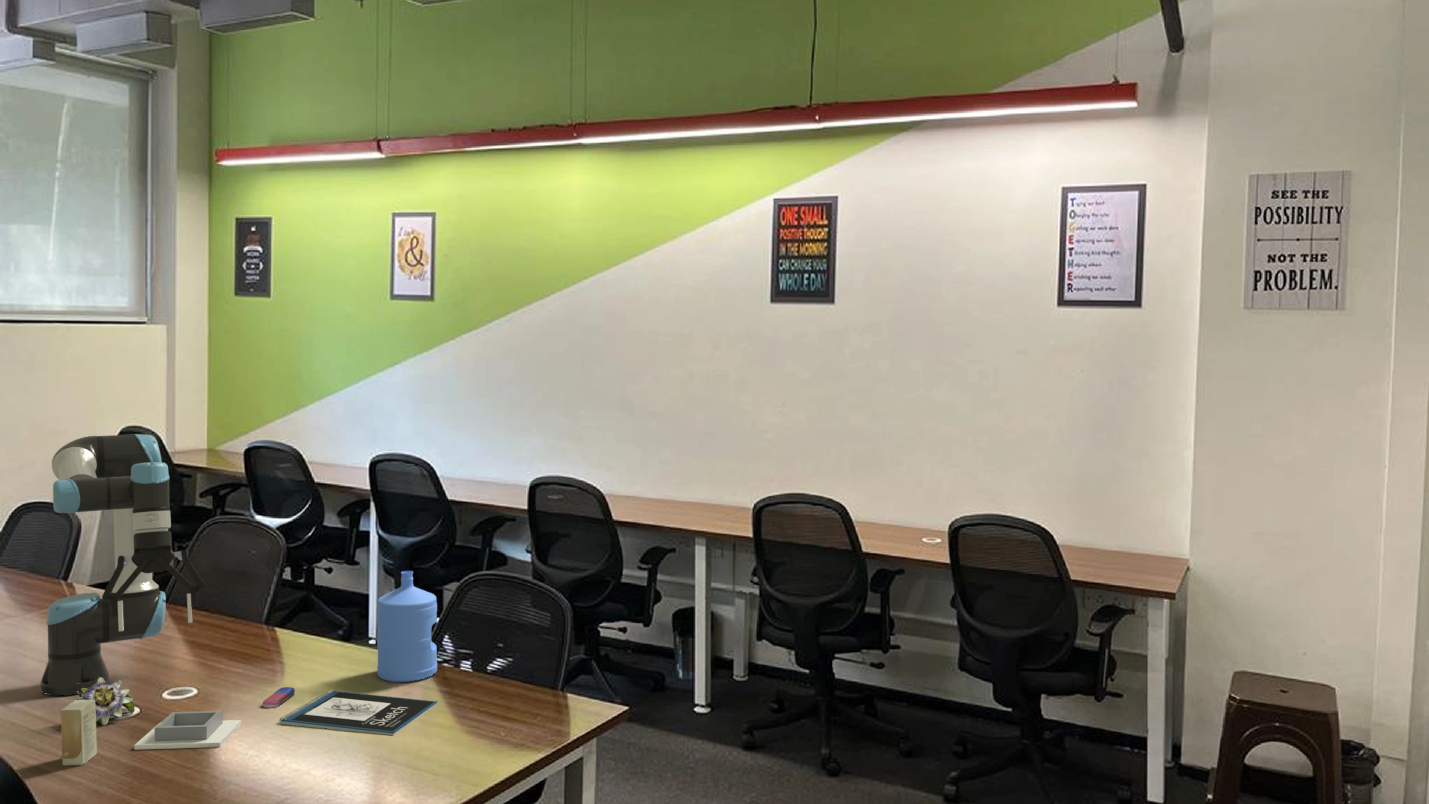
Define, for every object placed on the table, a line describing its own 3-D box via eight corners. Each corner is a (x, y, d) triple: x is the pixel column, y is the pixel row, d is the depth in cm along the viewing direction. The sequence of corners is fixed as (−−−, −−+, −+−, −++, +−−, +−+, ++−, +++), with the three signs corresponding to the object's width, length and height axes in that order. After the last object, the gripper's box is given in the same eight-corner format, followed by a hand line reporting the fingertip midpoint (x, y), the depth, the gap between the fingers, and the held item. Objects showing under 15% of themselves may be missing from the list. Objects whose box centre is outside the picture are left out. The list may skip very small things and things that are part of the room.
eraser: (276, 710, 256) (276, 703, 256) (260, 709, 257) (259, 702, 256) (297, 693, 268) (297, 686, 267) (281, 693, 268) (281, 686, 268)
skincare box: (76, 754, 227) (75, 699, 226) (97, 754, 227) (96, 698, 227) (60, 766, 220) (59, 709, 220) (82, 766, 221) (81, 709, 220)
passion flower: (105, 747, 245) (73, 716, 238) (90, 726, 252) (59, 696, 245) (149, 712, 251) (119, 680, 244) (133, 693, 258) (104, 662, 251)
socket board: (134, 749, 230) (133, 731, 230) (160, 726, 244) (160, 709, 244) (220, 747, 232) (219, 729, 232) (241, 724, 246) (241, 707, 246)
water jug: (401, 687, 273) (400, 581, 272) (365, 675, 283) (364, 572, 281) (449, 672, 286) (448, 571, 284) (413, 661, 295) (413, 563, 294)
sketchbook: (394, 738, 240) (393, 729, 240) (277, 726, 246) (277, 718, 246) (437, 706, 261) (437, 697, 261) (329, 696, 267) (328, 688, 267)
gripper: (86, 536, 227) (89, 635, 225) (213, 525, 238) (217, 620, 236) (89, 537, 234) (93, 633, 231) (213, 526, 244) (217, 618, 242)
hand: (156, 626), depth 233 cm, fingers open, 13 cm apart
